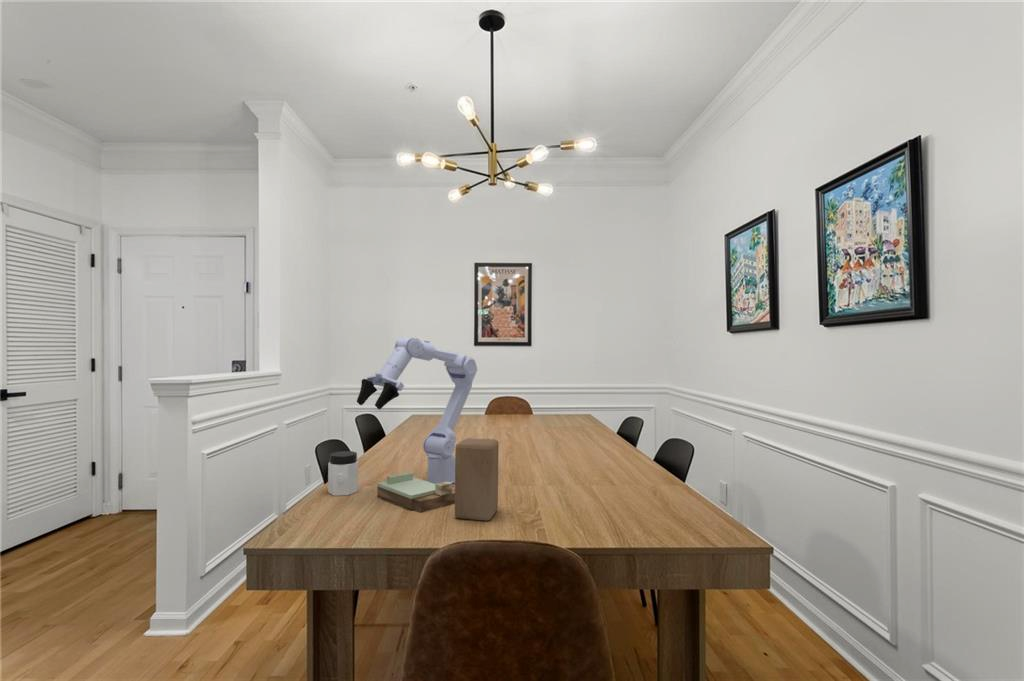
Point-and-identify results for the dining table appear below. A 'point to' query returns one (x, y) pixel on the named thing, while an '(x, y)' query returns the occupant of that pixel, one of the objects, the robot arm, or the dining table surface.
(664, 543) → the dining table surface
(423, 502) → the brown wooden tray
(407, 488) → the lid
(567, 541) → the dining table surface
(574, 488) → the dining table surface
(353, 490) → the jar
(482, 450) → the block
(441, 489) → the pale grey block
